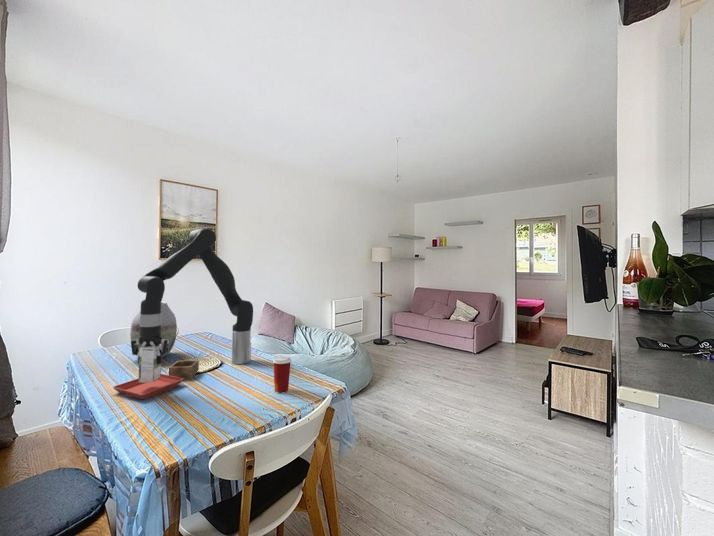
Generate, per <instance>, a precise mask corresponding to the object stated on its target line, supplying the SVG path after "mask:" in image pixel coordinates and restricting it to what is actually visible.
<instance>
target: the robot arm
mask: <svg viewBox="0 0 714 536" xmlns="http://www.w3.org/2000/svg"><path fill="white" fill-rule="evenodd" d="M216 240H217V236H216V233H215V231H214V230H212V229H211V228H207V227H205V228H198V229H194V230H192V231H190V233H189V234H188V241H189V244H187V245H186V246H185V247H183V248H181V249H180V250H179V251H177V252H175V253H173V254H171V255H170V256H169V257H168V258H166V259H165V260H164V261H163V262H161V264H160V265H158V266H157V267H156V268H154V269H152V270H150V271H148V272H147V273H145V274H144V275H143V276H141V278H140V279H138V281H137V289H138V290H139V291H140V292H142V293H145V299H143V300H141V302H140V308H141V315H140V322H139V324H140V338H139V340H136V339H135V340H133V341H131V340H130V347H131V353H132V354H131V355H132V356H137V364H138V365H139V351H140V350H138V344H139V343H140V344H141V347H145V346H152V347H155V348H156V353H157V355H158V356H157V365H159V364H161V365H162V363H163V359H164V358H163V354H165V353H167V352H168V347H169V341H170V340H169V339H162V337H161V302H163V298H164V294H165V290H166V289H165V281H167V280H170V279H172V278H173V277H175V276H176V275H177V274H178V273H179V272H180V271H181V270H183V268H185V267H186V266H187V265H188V264H189V263H190V262H191V261H192V260H193V259H195V258H196V257H197V256H198V257H199V258H200V259H201V261H202V262H203V264H204V265H205V268H206V270H208V272H209V274H210V276H211V278H212V279H213V282H214V283H215V284H216V286H217V288H218V289H219V291H220V293H221V294H222V296H223V298H224V300H225V302H226V305H227V306H228V309H229V311H230V313H231V314H232V315H233V316H234V317H236V322H235V323H234V324H233V325H232V332H231V333H232V336H231V338H232V342H231V363H232V364H233V365H234V364H235V365H243V364H249V363H250V361H251V360H252V342H251V337H252V336H251V333H252V332H251V331H252V325H253V322H254V321H253V319H254V305H253V303H252V302H250V301H249V300H244V299H242V298H241V296H240V295H239V293H238V291H237V288H236V281H235V276H234V275H233V273H232V270H231V269H230V267H229V265H228V264H227V263H225V261H223V260H222V259H221V258H220V257H219V256H218V255H217V254H216V253H215V252H214V250H213V248H212V246H214V244H215V243H216ZM161 342H162V344H163V350H162V349H161V346H160V343H161ZM158 345H159V346H160V347H159V348H157V346H158Z"/></svg>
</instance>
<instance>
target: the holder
mask: <svg viewBox="0 0 714 536" xmlns="http://www.w3.org/2000/svg"><path fill="white" fill-rule="evenodd" d="M199 363H200V361H199V359H198V360H196V359H195V360H193V359H191V360H189V359H188V360H176V361H175V362H174V363H172V364H171V365H170V366H168V375H169V376H174V377H179V378H183V380H193V378H194V377H195V376H196V375H197V374H196V372H197V371H198V370H199V367H200V366H199ZM198 372H199V371H198ZM195 374H196V375H195Z"/></svg>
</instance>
